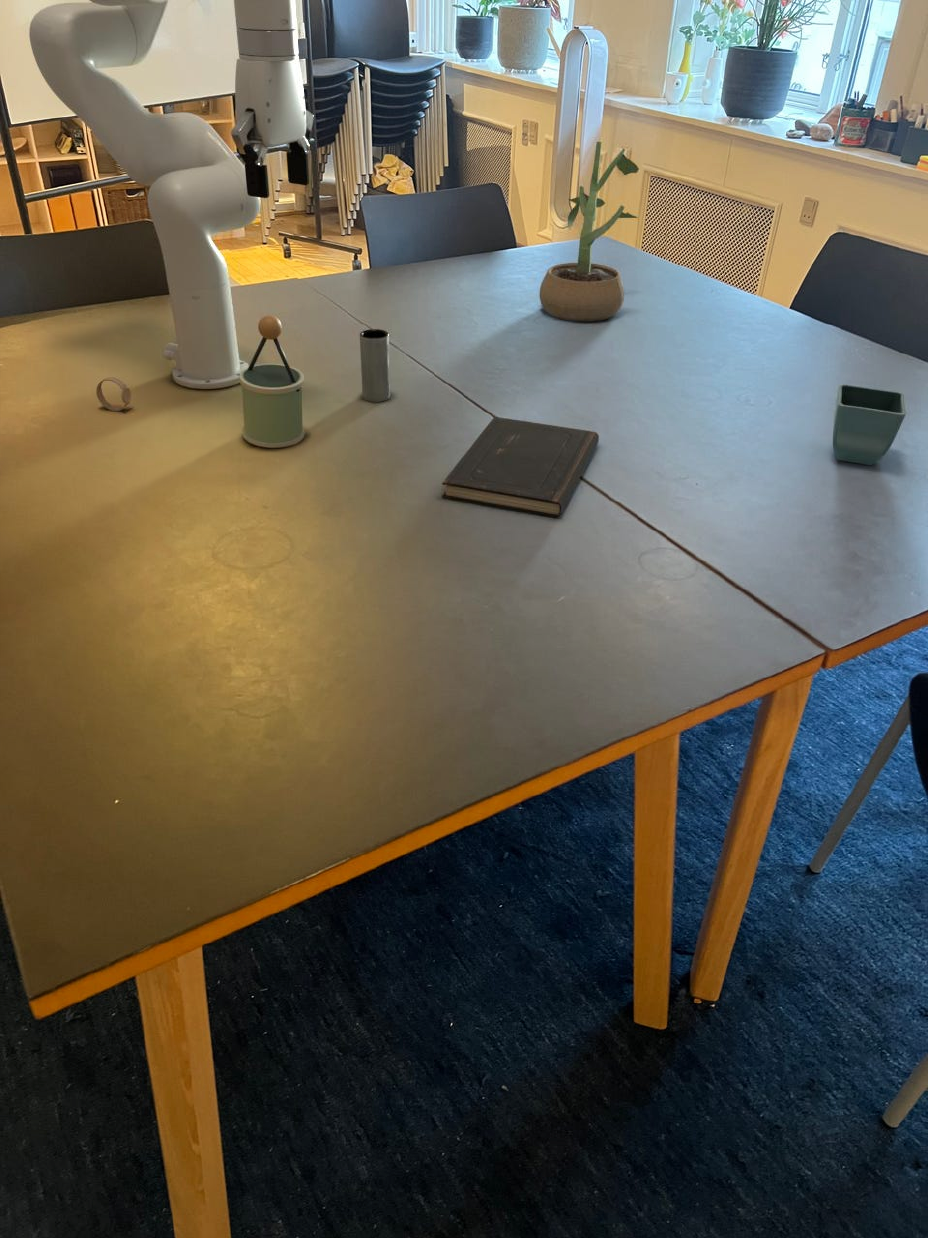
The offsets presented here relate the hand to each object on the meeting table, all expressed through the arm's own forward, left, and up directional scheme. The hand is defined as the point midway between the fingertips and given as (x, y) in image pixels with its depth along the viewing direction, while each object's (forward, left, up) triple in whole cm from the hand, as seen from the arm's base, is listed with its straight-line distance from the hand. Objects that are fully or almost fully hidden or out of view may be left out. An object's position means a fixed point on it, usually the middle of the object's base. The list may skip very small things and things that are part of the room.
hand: (279, 189), depth 130 cm
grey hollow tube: (+9, +9, -32) cm, 34 cm away
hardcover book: (+40, -6, -32) cm, 51 cm away
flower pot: (+82, +19, -32) cm, 90 cm away
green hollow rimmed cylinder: (+8, -11, -23) cm, 26 cm away
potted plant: (+25, +70, -32) cm, 81 cm away
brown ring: (-25, -13, -32) cm, 43 cm away
